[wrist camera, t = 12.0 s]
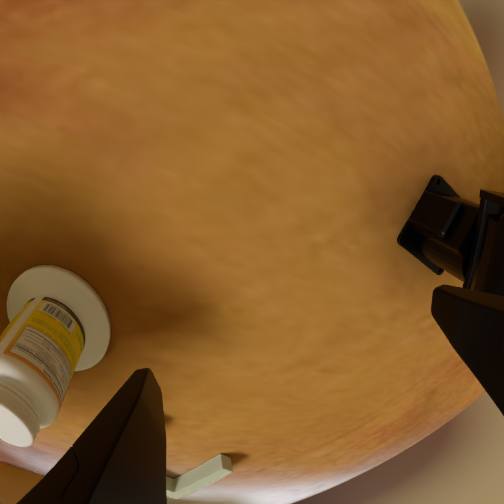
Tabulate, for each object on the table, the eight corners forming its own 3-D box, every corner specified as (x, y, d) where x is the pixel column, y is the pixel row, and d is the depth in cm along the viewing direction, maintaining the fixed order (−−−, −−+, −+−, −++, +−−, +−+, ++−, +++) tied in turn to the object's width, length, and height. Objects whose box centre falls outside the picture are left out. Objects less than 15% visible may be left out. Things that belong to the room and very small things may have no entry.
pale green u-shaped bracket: (140, 412, 25) (138, 428, 23) (230, 457, 29) (232, 472, 27) (93, 448, 26) (90, 462, 24) (176, 486, 30) (176, 499, 28)
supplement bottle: (35, 351, 20) (-12, 444, 11) (17, 290, 19) (-55, 376, 9) (95, 356, 21) (61, 464, 12) (81, 292, 20) (21, 395, 10)
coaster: (127, 300, 21) (125, 305, 20) (94, 381, 23) (92, 387, 22) (23, 243, 18) (18, 247, 18) (5, 333, 20) (1, 338, 20)
